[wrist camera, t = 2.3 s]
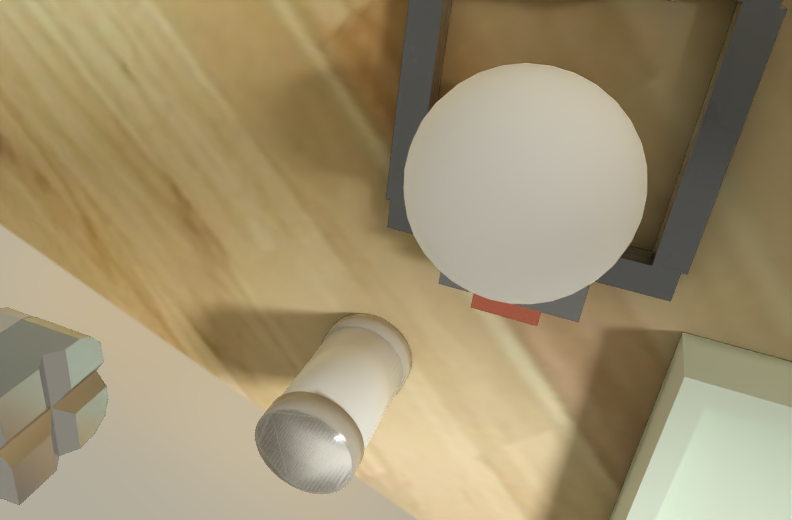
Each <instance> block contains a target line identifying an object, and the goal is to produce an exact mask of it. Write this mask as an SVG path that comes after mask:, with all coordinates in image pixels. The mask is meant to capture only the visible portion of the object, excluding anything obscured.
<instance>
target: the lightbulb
mask: <svg viewBox="0 0 792 520" xmlns="http://www.w3.org/2000/svg"><path fill="white" fill-rule="evenodd" d="M646 198H647V164H646V159H645V155H644V151H643V146H642V142H641V140H640V138H639V136H638V134H637V132H636V130H635V128H634V125H633V123H632V121H631V120H630V119H629V117H628V116H627V115H626V113H625V112H624V111H623V109H622V108H621V107H620V106H619V104H618V103H617V102H616V101H615V100H614V99H613V98H612V97H611V96H609V95H608V94H607V93H606V92H605V91H604V90H602V89H601V88H600V87H599V86H598V85H596V84H595V83H593V82H591V81H589V80H587V79H585V78H584V77H582V76H580V75H578V74H576V73H574V72H571V71H567V70H564V69H561V68H558V67H555V66H551V65H542V64H532V63H520V64H510V65H501V66H498V67H495V68H491V69H488V70H485V71H482V72H479V73H477V74H475V75H473V76H471V77H470V78H468V79H466V80H464V81H462V82H460V83H459V84H457V85H456V86H455V87H454V88H453V89H452V90H450V91H449V92H448V93H447V94H446V95H445V96H443V97H442V98H441V99H440V100H439V101H438V102H436V103H435V104H434V106H433V107H432V108H431V110H430V111H429V112H428V114H427V115H426V116H425V118H424V119H423V120H422V122H421V124H420V126H419V128H418V130H417V132H416V134H415V136H414V138H413V140H412V143H411V146H410V149H409V153H408V157H407V161H406V165H405V169H404V200H405V206H406V213H407V218H408V221H409V224H410V226H411V229H412V232H413V235H414V237H415V239H416V240H417V242H418V244H419V245H420V247H421V249H422V251H423V252H424V254H425V255H426V256H427V257H428V258H429V260H430V261H431V262H432V263H433V264H434V266H435V267H436V268H437V269H438V270H439V271H441V272H442V273H443V274H444V275H445V276H446V277H448V278H449V279H450V280H451V281H452V282H454V283H456V284H457V285H459V286H461V287H463V288H464V289H466V290H468V291H469V292H471V293H474V294H477V295H479V296H482V297H484V298H487V299H490V300H494V301H499V302H504V303H509V304H537V303H544V302H551V301H554V300H557V299H560V298H563V297H566V296H569V295H572V294H574V293H576V292H577V291H579V290H581V289H583V288H584V287H586V286H588V285H590V284H591V283H593V282H594V281H596V280H598V279H599V278H600V277H601V276H602V275H603V274H604V273H606V272H607V271H608V270H609V269H610V268H611V267H613V266H614V264H615V263H616V262H617V260H618V259H619V258H620V257H621V255H622V254H623V253H624V251H625V250H626V249H627V247H628V246H629V244H630V243H631V241H632V240H633V238H634V235H635V233H636V231H637V229H638V227H639V225H640V222H641V220H642V216H643V212H644V207H645V203H646Z"/></svg>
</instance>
